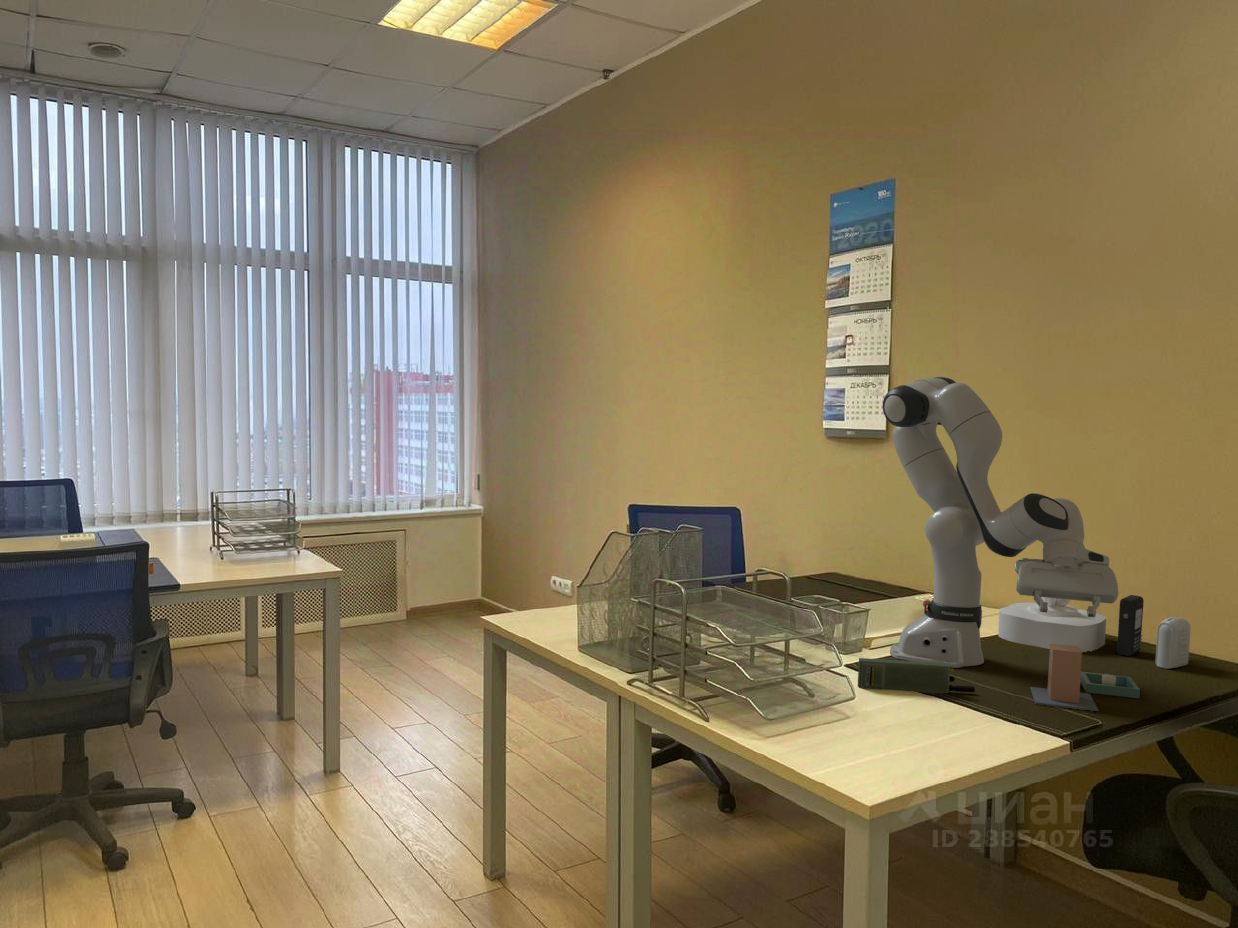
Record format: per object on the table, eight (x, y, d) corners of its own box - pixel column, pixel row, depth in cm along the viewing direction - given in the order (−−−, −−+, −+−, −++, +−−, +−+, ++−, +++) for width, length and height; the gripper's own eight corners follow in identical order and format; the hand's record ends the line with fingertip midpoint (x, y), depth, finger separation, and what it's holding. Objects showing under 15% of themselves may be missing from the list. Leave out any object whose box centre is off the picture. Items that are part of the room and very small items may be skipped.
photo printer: (1172, 661, 235) (1175, 613, 234) (1190, 665, 231) (1193, 617, 231) (1152, 666, 229) (1155, 617, 229) (1170, 670, 226) (1173, 621, 225)
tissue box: (1085, 656, 238) (1088, 595, 237) (988, 638, 255) (991, 581, 254) (1112, 641, 256) (1116, 584, 255) (1020, 624, 273) (1023, 571, 272)
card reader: (1132, 658, 237) (1135, 600, 236) (1115, 654, 240) (1118, 598, 239) (1142, 652, 243) (1145, 596, 242) (1125, 649, 246) (1129, 593, 245)
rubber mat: (1035, 704, 195) (1035, 702, 195) (1030, 688, 206) (1030, 686, 206) (1098, 712, 191) (1098, 709, 191) (1089, 695, 202) (1089, 693, 202)
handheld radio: (857, 685, 206) (972, 692, 203) (859, 690, 203) (976, 697, 200) (858, 656, 205) (974, 663, 202) (860, 660, 202) (977, 668, 199)
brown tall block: (1050, 699, 197) (1053, 649, 196) (1047, 692, 202) (1050, 643, 202) (1079, 703, 195) (1082, 652, 194) (1075, 695, 200) (1078, 646, 200)
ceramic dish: (1086, 692, 205) (1086, 679, 205) (1079, 679, 215) (1079, 667, 215) (1139, 698, 202) (1140, 685, 201) (1129, 685, 212) (1130, 672, 211)
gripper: (1016, 549, 208) (1017, 599, 199) (1117, 557, 201) (1122, 610, 192) (1013, 565, 212) (1014, 615, 204) (1111, 574, 206) (1116, 626, 197)
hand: (1067, 613), depth 198 cm, fingers open, 8 cm apart
